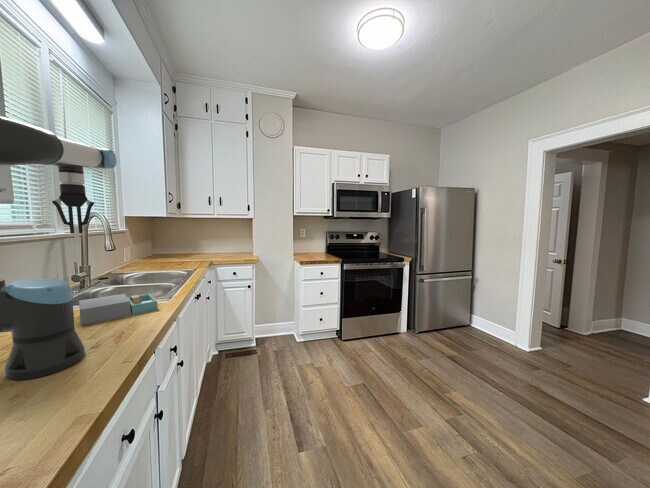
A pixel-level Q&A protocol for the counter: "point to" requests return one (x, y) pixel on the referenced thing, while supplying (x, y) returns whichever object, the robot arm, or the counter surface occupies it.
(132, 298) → the terracotta tile
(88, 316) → the grey flat block
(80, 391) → the counter surface
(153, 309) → the bin
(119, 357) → the counter surface
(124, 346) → the counter surface
